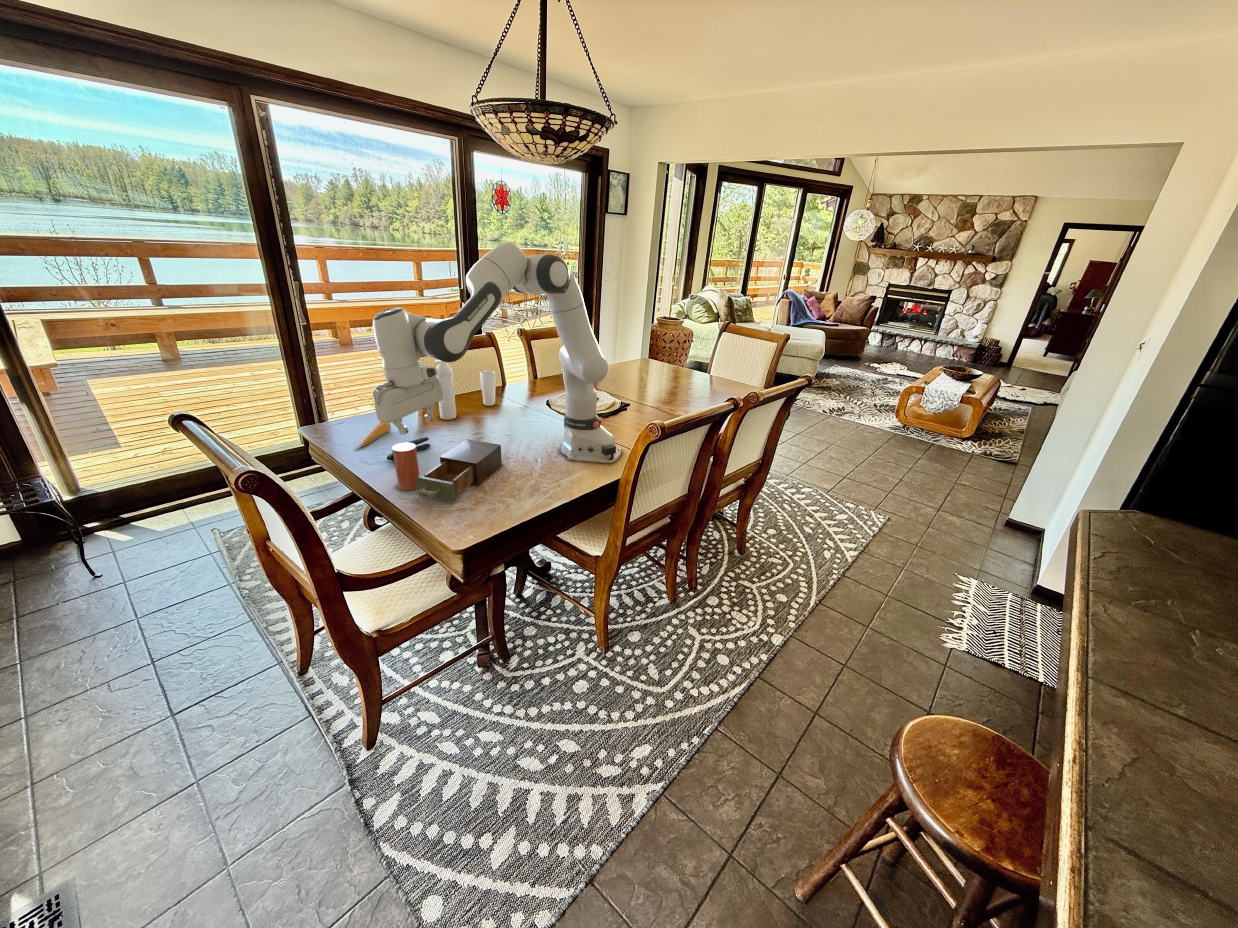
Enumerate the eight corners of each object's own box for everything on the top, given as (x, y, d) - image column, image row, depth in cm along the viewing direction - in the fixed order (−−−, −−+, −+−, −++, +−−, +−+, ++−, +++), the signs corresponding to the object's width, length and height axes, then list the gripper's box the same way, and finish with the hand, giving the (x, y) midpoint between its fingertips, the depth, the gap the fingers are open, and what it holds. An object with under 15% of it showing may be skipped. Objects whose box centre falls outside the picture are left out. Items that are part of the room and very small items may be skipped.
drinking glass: (485, 401, 223) (483, 369, 217) (499, 402, 222) (497, 371, 216) (479, 405, 217) (477, 373, 210) (493, 407, 216) (492, 374, 210)
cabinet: (478, 485, 150) (476, 463, 147) (442, 479, 153) (439, 456, 150) (501, 465, 164) (500, 444, 161) (468, 459, 167) (466, 438, 163)
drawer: (445, 509, 135) (443, 490, 133) (409, 501, 137) (406, 483, 135) (479, 480, 152) (478, 463, 149) (446, 474, 154) (444, 457, 151)
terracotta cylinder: (425, 482, 150) (420, 444, 145) (412, 491, 144) (406, 452, 139) (407, 479, 151) (401, 441, 146) (393, 488, 146) (387, 449, 140)
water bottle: (444, 414, 205) (438, 355, 194) (459, 415, 204) (453, 357, 194) (435, 421, 197) (428, 360, 186) (450, 422, 197) (444, 362, 186)
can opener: (401, 466, 159) (399, 451, 156) (384, 462, 161) (382, 447, 158) (437, 447, 174) (436, 433, 171) (422, 444, 176) (420, 429, 174)
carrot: (385, 430, 186) (379, 420, 184) (395, 428, 185) (388, 417, 183) (355, 456, 169) (348, 445, 167) (365, 453, 168) (358, 442, 166)
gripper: (381, 388, 112) (396, 443, 118) (441, 366, 129) (452, 415, 135) (361, 387, 114) (377, 440, 120) (423, 366, 131) (434, 413, 137)
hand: (417, 427), depth 127 cm, fingers open, 8 cm apart
